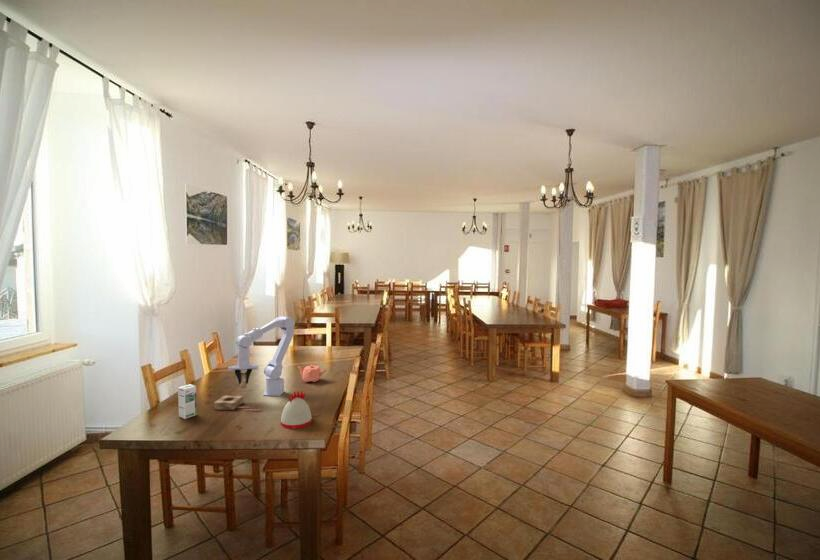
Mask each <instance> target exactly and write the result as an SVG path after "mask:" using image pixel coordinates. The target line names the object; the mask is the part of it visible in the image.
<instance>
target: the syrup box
mask: <svg viewBox="0 0 820 560" xmlns="http://www.w3.org/2000/svg"><path fill="white" fill-rule="evenodd" d="M177 397H178V398H177V399H178V402H177V403H178V417H180V418H182V419H184V420H186V419H189V418H192V417H195V416H197V415H198V414H197V413H198V411H197V410H198V409H197V385H195V384H190V383H189V384H186V385H183V386H178V388H177Z"/></svg>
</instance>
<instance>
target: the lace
mask: <svg viewBox="0 0 820 560" xmlns="http://www.w3.org/2000/svg"><path fill="white" fill-rule="evenodd" d="M235 409H244V410H245V411H246V412H262V411H263V410H262V409H252V407H251V406H238V407H236V408H235Z"/></svg>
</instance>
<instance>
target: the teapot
mask: <svg viewBox="0 0 820 560" xmlns="http://www.w3.org/2000/svg"><path fill="white" fill-rule="evenodd" d="M297 368H298V369H299V373H300V375H301V376H302V377H301V378H302V381H303V382H308V383H309V382H312V383H313V382H316V383H317V382H319V380H320V379H321V376H322V375H324V374H325V373H326V372H327V370H326V368H324V369H321V367H320V366H319V365H314V364H310V365H306V366H305V367H304V368H303V369H302V367H301V366H299V365H298V366H297Z"/></svg>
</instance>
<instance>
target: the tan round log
mask: <svg viewBox="0 0 820 560" xmlns="http://www.w3.org/2000/svg"><path fill="white" fill-rule="evenodd" d="M246 380H247V374H246V371H243V372H242V371H241V384H240V389H242V390H243V389H247V387H248V386H247V385H248V384H246Z"/></svg>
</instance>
